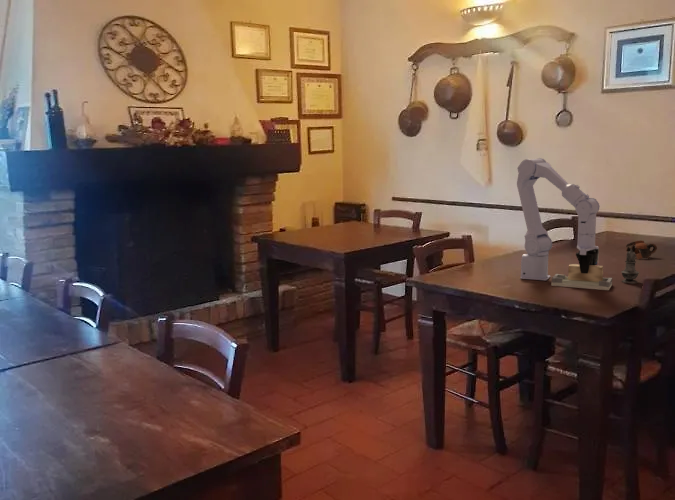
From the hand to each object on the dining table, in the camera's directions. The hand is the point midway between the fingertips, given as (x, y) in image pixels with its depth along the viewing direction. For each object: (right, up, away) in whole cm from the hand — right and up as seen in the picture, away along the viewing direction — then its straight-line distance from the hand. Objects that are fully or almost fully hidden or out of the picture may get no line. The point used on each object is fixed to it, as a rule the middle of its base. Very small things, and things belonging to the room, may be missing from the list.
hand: (585, 272), depth 236 cm
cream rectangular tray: (-1, -5, +1) cm, 5 cm away
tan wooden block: (0, -3, 0) cm, 3 cm away
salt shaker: (+18, -4, +5) cm, 19 cm away
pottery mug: (+42, +4, +50) cm, 66 cm away
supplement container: (+8, -2, +18) cm, 20 cm away
